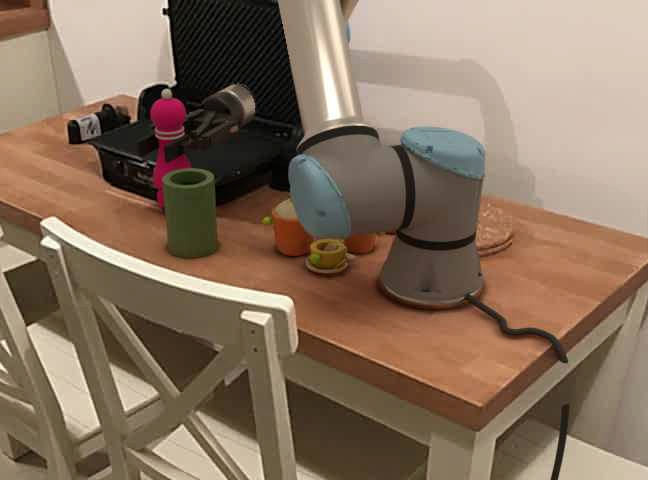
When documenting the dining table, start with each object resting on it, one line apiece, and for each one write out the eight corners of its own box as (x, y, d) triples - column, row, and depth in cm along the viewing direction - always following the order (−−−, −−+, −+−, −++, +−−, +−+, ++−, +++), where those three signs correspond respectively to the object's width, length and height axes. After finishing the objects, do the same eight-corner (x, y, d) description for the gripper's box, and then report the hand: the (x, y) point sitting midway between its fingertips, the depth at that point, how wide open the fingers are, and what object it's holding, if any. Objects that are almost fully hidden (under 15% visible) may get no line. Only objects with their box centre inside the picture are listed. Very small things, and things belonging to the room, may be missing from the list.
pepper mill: (147, 205, 163) (136, 92, 151) (168, 191, 168) (159, 80, 156) (182, 212, 160) (173, 98, 148) (202, 197, 165) (195, 85, 154)
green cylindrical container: (226, 250, 150) (222, 180, 143) (181, 262, 147) (175, 191, 140) (204, 232, 156) (200, 164, 149) (160, 243, 153) (154, 174, 146)
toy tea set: (328, 284, 140) (330, 225, 134) (253, 255, 149) (252, 199, 143) (424, 227, 155) (429, 173, 149) (351, 204, 164) (353, 152, 158)
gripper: (268, 138, 168) (198, 182, 152) (187, 124, 176) (113, 164, 160) (267, 97, 164) (195, 138, 148) (185, 85, 172) (107, 121, 156)
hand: (152, 151), depth 154 cm, fingers closed on pepper mill, 5 cm apart
